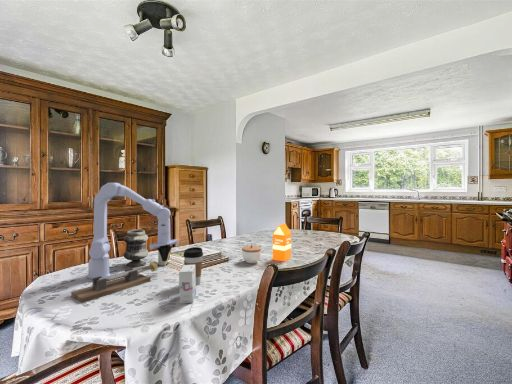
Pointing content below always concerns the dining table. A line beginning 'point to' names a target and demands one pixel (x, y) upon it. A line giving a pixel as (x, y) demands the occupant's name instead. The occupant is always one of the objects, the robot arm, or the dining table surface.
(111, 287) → the shaft frame
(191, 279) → the ink box
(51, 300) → the dining table surface
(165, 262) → the skincare box
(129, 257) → the apothecary jar
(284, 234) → the orange juice
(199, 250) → the coffee cup
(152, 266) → the shaft
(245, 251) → the lidded jar
